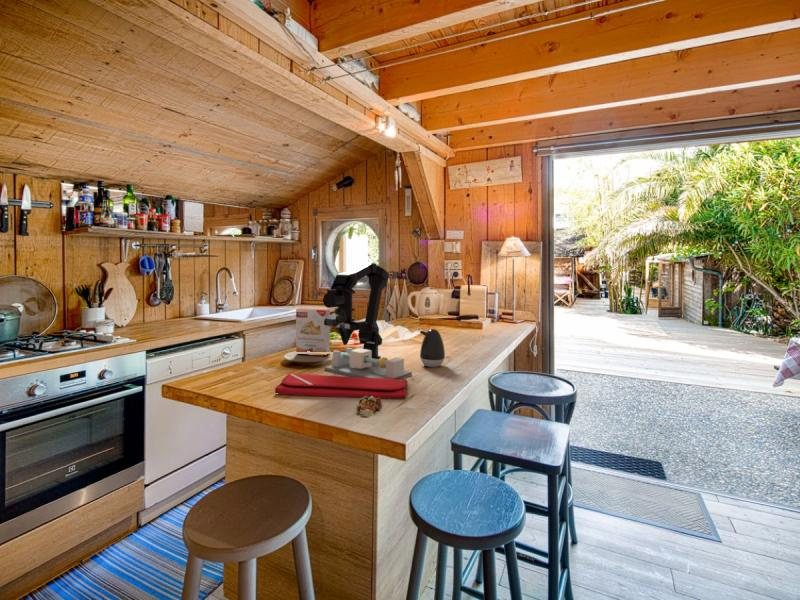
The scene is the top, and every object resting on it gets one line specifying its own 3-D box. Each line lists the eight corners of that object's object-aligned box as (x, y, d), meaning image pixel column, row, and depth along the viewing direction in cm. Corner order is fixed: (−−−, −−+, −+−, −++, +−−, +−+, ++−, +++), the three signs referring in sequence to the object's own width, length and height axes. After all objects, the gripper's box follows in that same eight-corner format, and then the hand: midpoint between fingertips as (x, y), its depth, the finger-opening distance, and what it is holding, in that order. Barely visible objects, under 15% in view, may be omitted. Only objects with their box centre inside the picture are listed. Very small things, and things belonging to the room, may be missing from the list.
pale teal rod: (342, 357, 168) (342, 348, 168) (398, 369, 151) (398, 358, 151) (335, 359, 165) (335, 349, 165) (391, 371, 148) (391, 360, 148)
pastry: (354, 418, 112) (355, 405, 112) (359, 403, 124) (359, 391, 124) (380, 419, 112) (380, 406, 112) (382, 403, 124) (382, 392, 124)
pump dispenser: (420, 362, 176) (421, 326, 174) (445, 363, 174) (445, 327, 173) (418, 368, 166) (418, 330, 164) (444, 369, 164) (445, 331, 163)
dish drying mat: (405, 400, 127) (405, 388, 127) (274, 396, 130) (274, 384, 129) (407, 385, 143) (407, 375, 142) (290, 381, 145) (290, 371, 145)
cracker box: (295, 355, 185) (295, 308, 183) (301, 352, 191) (300, 307, 189) (325, 356, 183) (325, 309, 181) (330, 354, 189) (330, 308, 187)
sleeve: (360, 363, 164) (360, 348, 163) (371, 365, 160) (371, 350, 160) (349, 366, 159) (349, 350, 159) (361, 368, 156) (361, 352, 155)
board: (353, 362, 173) (353, 346, 173) (411, 375, 155) (411, 356, 155) (324, 370, 161) (324, 352, 160) (384, 384, 143) (384, 364, 142)
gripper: (313, 305, 162) (313, 344, 164) (347, 309, 151) (347, 351, 152) (334, 303, 171) (334, 340, 173) (368, 306, 160) (367, 346, 161)
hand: (345, 344), depth 164 cm, fingers closed
